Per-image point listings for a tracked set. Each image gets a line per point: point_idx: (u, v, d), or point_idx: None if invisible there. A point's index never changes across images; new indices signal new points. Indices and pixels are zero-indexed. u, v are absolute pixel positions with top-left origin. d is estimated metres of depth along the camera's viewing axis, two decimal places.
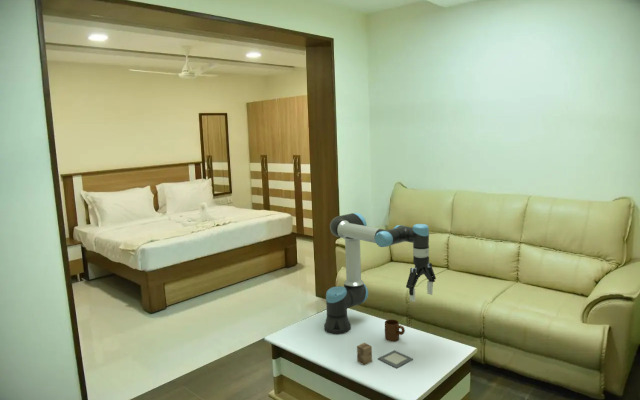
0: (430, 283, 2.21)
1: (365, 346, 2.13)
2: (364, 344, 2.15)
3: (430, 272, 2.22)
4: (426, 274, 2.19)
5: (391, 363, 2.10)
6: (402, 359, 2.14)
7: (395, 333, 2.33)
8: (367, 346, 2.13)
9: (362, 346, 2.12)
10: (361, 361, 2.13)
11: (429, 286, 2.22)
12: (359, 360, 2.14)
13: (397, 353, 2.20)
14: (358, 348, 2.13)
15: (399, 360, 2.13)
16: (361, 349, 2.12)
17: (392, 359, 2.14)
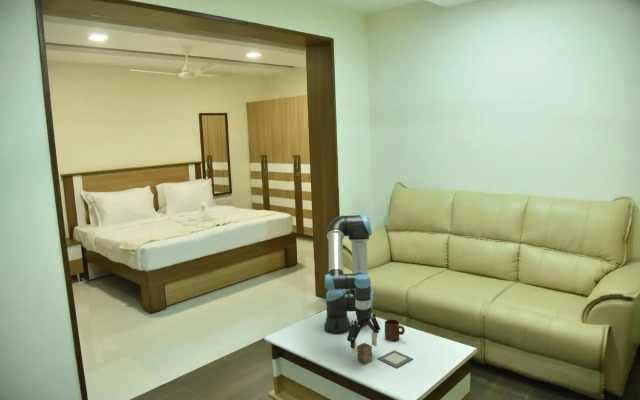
0: (374, 334, 2.16)
1: (365, 346, 2.13)
2: (364, 344, 2.15)
3: (374, 323, 2.16)
4: (369, 325, 2.14)
5: (391, 363, 2.10)
6: (402, 359, 2.14)
7: (395, 333, 2.33)
8: (367, 346, 2.13)
9: (362, 346, 2.12)
10: (361, 361, 2.13)
11: (373, 337, 2.17)
12: (359, 360, 2.14)
13: (397, 353, 2.20)
14: (358, 348, 2.13)
15: (399, 360, 2.13)
16: (361, 349, 2.12)
17: (392, 359, 2.14)
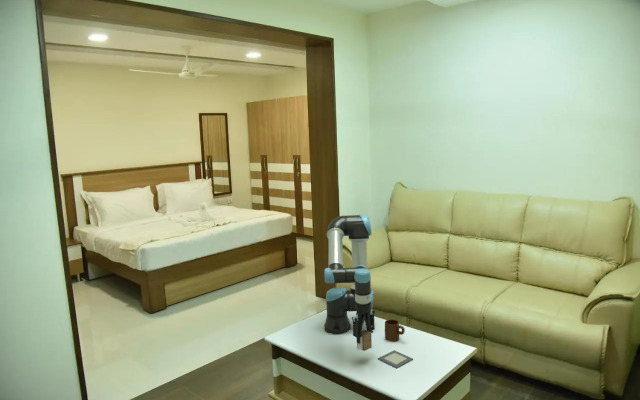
0: None
1: (364, 332, 2.12)
2: (364, 330, 2.14)
3: (371, 320, 2.15)
4: (366, 321, 2.13)
5: (391, 363, 2.10)
6: (402, 359, 2.14)
7: (395, 333, 2.33)
8: (367, 332, 2.12)
9: (361, 333, 2.12)
10: None
11: None
12: None
13: (397, 353, 2.20)
14: None
15: (399, 360, 2.13)
16: (361, 335, 2.11)
17: (392, 359, 2.14)
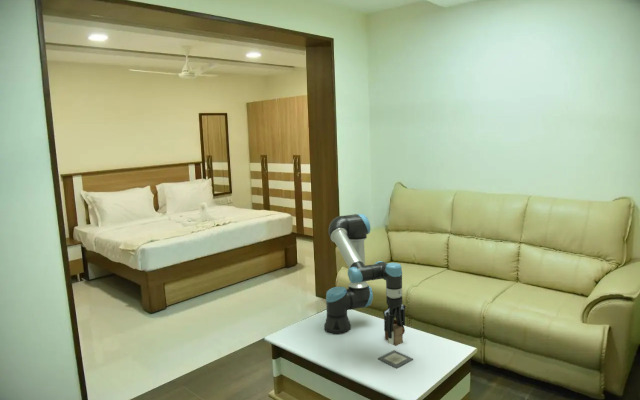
0: None
1: (396, 327, 2.12)
2: (394, 325, 2.14)
3: (401, 315, 2.15)
4: (397, 316, 2.13)
5: (391, 363, 2.10)
6: (402, 359, 2.14)
7: None
8: (398, 327, 2.12)
9: None
10: None
11: None
12: None
13: (397, 353, 2.20)
14: None
15: (399, 360, 2.13)
16: (392, 330, 2.11)
17: (392, 359, 2.14)
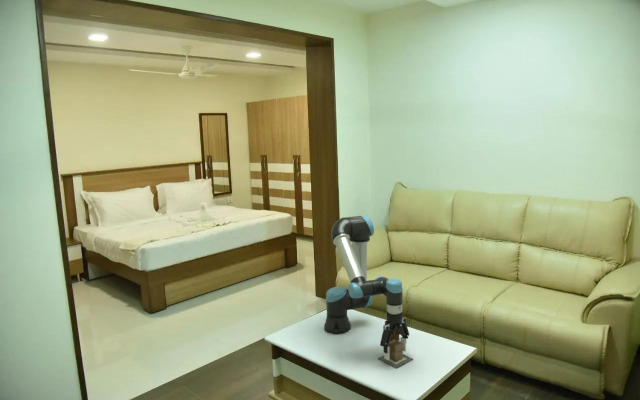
0: (403, 340, 2.17)
1: (396, 343, 2.13)
2: (395, 341, 2.15)
3: (404, 328, 2.17)
4: (399, 330, 2.15)
5: (391, 363, 2.10)
6: (402, 359, 2.14)
7: (395, 333, 2.33)
8: (398, 343, 2.13)
9: (393, 343, 2.13)
10: (392, 358, 2.13)
11: None
12: (390, 357, 2.14)
13: None
14: (389, 345, 2.14)
15: (399, 360, 2.13)
16: (392, 346, 2.12)
17: None
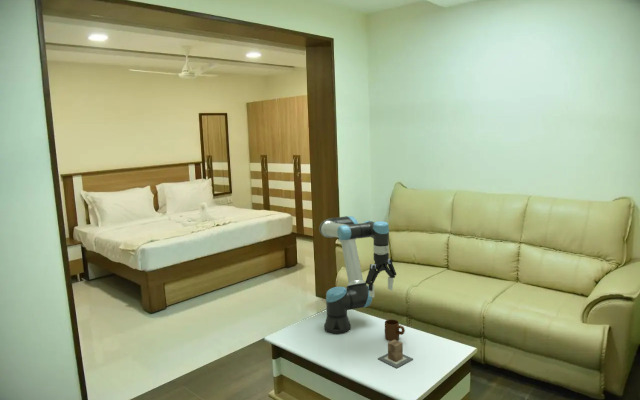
0: (390, 279, 2.27)
1: (396, 343, 2.13)
2: (395, 341, 2.15)
3: (391, 268, 2.27)
4: (386, 270, 2.24)
5: (391, 363, 2.10)
6: (402, 359, 2.14)
7: (395, 333, 2.33)
8: (398, 343, 2.13)
9: (393, 343, 2.13)
10: (392, 358, 2.13)
11: (389, 282, 2.27)
12: (390, 357, 2.14)
13: None
14: (389, 345, 2.14)
15: (399, 360, 2.13)
16: (392, 346, 2.12)
17: None
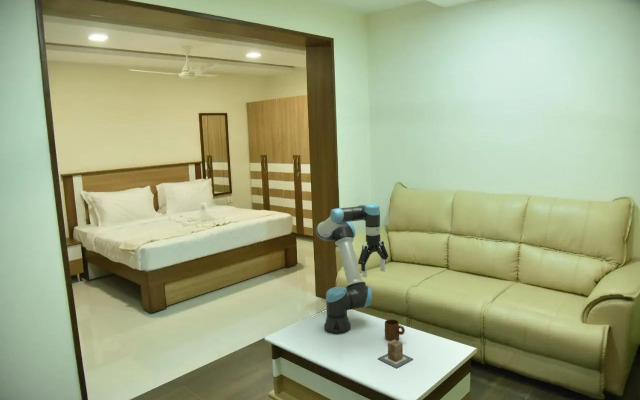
0: (383, 260, 2.34)
1: (396, 343, 2.13)
2: (395, 341, 2.15)
3: (383, 250, 2.34)
4: (378, 252, 2.31)
5: (391, 363, 2.10)
6: (402, 359, 2.14)
7: (395, 333, 2.33)
8: (398, 343, 2.13)
9: (393, 343, 2.13)
10: (392, 358, 2.13)
11: (382, 263, 2.34)
12: (390, 357, 2.14)
13: None
14: (389, 345, 2.14)
15: (399, 360, 2.13)
16: (392, 346, 2.12)
17: None
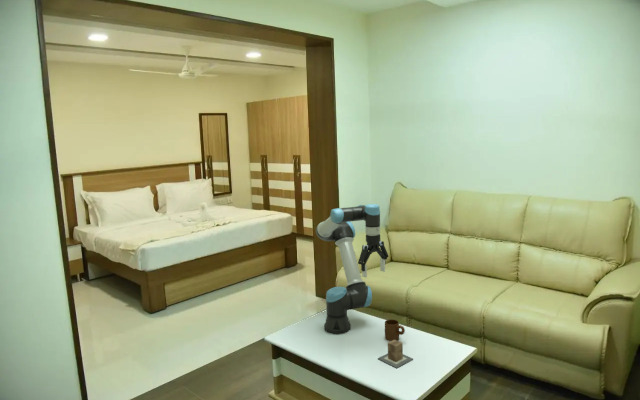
0: (383, 260, 2.34)
1: (396, 343, 2.13)
2: (395, 341, 2.15)
3: (383, 250, 2.34)
4: (378, 252, 2.31)
5: (391, 363, 2.10)
6: (402, 359, 2.14)
7: (395, 333, 2.33)
8: (398, 343, 2.13)
9: (393, 343, 2.13)
10: (392, 358, 2.13)
11: (382, 263, 2.34)
12: (390, 357, 2.14)
13: None
14: (389, 345, 2.14)
15: (399, 360, 2.13)
16: (392, 346, 2.12)
17: None
